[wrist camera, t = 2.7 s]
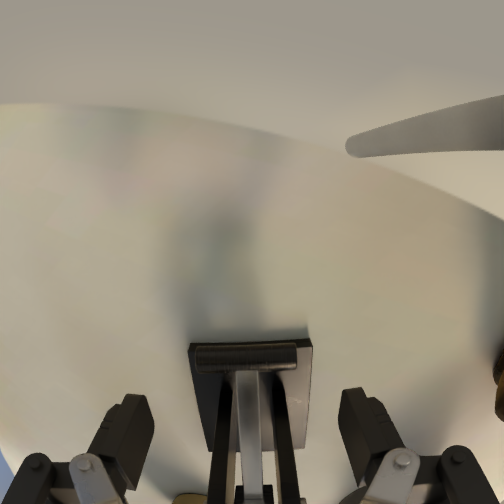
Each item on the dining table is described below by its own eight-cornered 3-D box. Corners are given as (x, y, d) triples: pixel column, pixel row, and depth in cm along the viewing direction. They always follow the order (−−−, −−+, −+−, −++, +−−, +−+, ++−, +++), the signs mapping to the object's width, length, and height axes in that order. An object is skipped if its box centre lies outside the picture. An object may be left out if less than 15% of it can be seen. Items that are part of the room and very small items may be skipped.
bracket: (190, 342, 22) (146, 482, 10) (310, 338, 22) (355, 478, 10) (209, 443, 25) (195, 555, 13) (303, 439, 25) (322, 552, 13)
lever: (200, 343, 16) (191, 348, 14) (292, 339, 16) (298, 345, 14) (217, 514, 14) (212, 535, 12) (295, 512, 14) (298, 533, 12)
